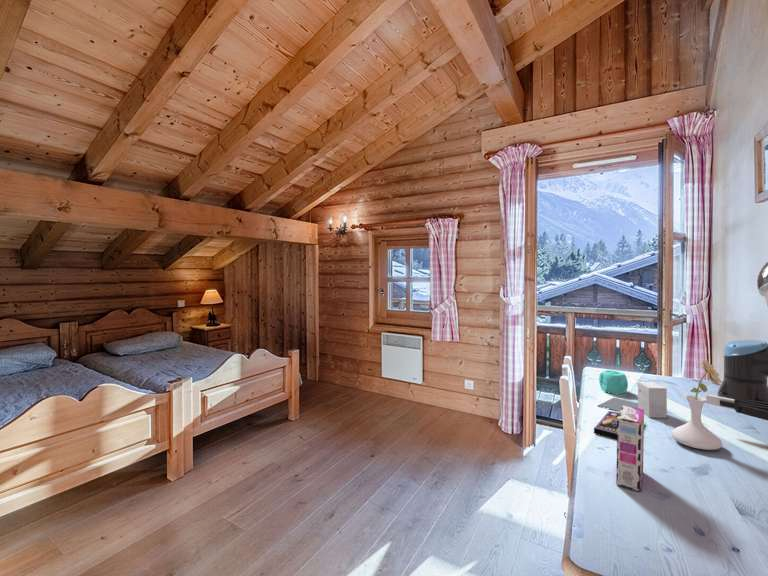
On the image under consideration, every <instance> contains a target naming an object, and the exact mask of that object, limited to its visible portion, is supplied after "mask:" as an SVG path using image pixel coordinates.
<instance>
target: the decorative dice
mask: <svg viewBox="0 0 768 576" xmlns="http://www.w3.org/2000/svg"><path fill="white" fill-rule="evenodd" d="M598 383H599V386H600V388H601V390H602V391H603V392H604V391H605V393H607V392H609V393H608V394H611V393H614V394H613V395H623V394H625V393H626V392H627V391H628V389H629V382H628V378H627V376H626V374H624V372H622V371H618V370H612V369H611V370H602V371H601V372H600V373H599V376H598Z"/></svg>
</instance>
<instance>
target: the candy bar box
mask: <svg viewBox="0 0 768 576" xmlns="http://www.w3.org/2000/svg"><path fill="white" fill-rule="evenodd" d="M618 413H619V415H618V417H617V439H616V481H615V484H616V485H617V486H619V487H623V488H626V489H628V488H629V490H631V489H633V490H632V491H634V490H637V491H636V492H638V491H639V493H640V492H641V488H642V480H643V476H644V439H645V437H644V436H645V435H644V434H645V414H644V409H639V408H634V407H628V406H622V408H621V410H620V412H618Z"/></svg>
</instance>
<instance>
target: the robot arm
mask: <svg viewBox="0 0 768 576" xmlns="http://www.w3.org/2000/svg"><path fill="white" fill-rule="evenodd" d="M756 281H757V282H756V284H757V289H758V293H759V295H760V296H762V297H764V299H765V302H766V307H768V261H767V262H765V264H764V265H763V266H762V267H761V270H760V271H759V273H758V276H757V280H756ZM722 355H723V380H722V383H720V385H721V386H720V385H719V388H718V390H717V395H713V394H708V393H707V394H706V395H705V398H706V399H707V401H706V402H705V404H706V405H713V406H717V407H722V408H726V409H731V410H734V411H735V412H736V413H738V414H741V415H745V416H750V417H753V418H756V419H760V420H764V421H768V342H767V341H764V340H754V339H753V340H752V339H747V340H746V339H744V340H743V339H742V340H732V341H728V342H726V344H725V345H724V349H723V354H722Z"/></svg>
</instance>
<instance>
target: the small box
mask: <svg viewBox="0 0 768 576" xmlns="http://www.w3.org/2000/svg"><path fill="white" fill-rule="evenodd" d="M667 391H668V390H667V387H664V386H662V385H661V384H659V383H657V382H655V381H637V403H638V408H639V409H644V416H647V418H653V419H654V418H657V419H667V418H668V411H667V410H668V408H667V407H668V405H667V404H668V403H667V402H668V400H667V396H668V394H667Z"/></svg>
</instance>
